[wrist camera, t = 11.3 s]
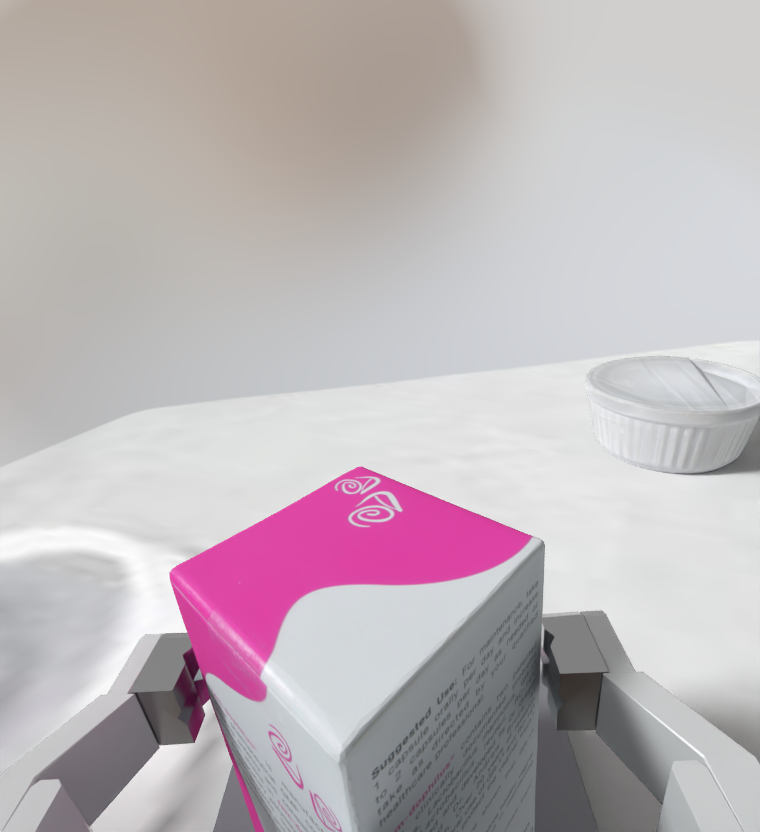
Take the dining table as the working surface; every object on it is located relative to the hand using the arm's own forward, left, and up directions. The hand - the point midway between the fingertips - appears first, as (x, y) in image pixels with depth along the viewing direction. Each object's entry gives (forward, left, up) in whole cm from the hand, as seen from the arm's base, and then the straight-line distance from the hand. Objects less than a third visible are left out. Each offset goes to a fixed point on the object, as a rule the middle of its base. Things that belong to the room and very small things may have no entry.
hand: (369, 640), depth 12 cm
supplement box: (0, -1, -8) cm, 8 cm away
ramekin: (+20, +24, -9) cm, 33 cm away
